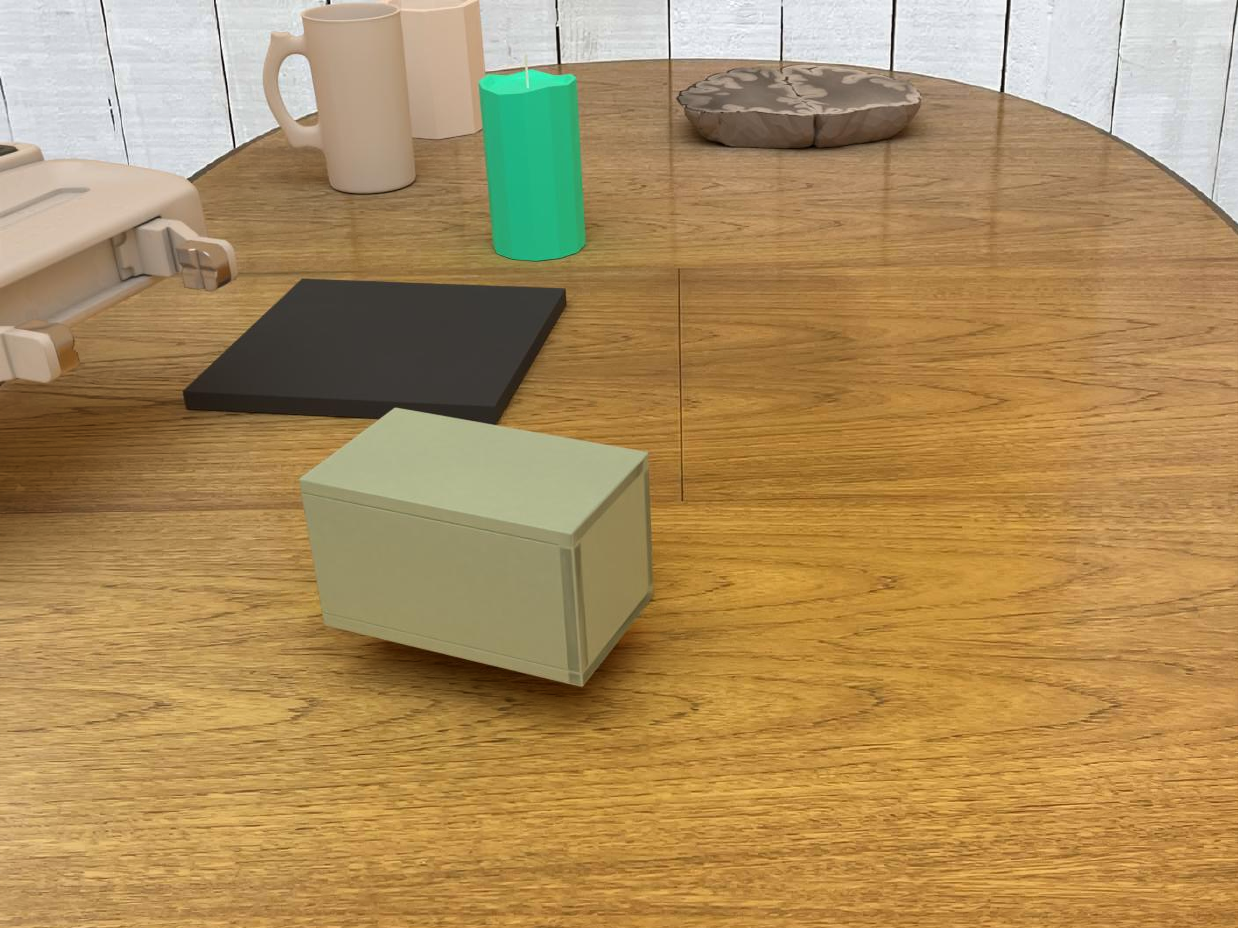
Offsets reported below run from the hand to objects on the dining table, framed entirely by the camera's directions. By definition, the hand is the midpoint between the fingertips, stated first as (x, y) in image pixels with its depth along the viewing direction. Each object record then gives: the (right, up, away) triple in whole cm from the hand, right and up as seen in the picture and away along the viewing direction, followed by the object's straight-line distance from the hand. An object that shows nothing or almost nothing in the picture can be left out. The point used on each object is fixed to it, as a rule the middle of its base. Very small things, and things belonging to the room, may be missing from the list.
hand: (150, 307), depth 55 cm
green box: (+13, -9, -2) cm, 16 cm away
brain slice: (+29, +24, +62) cm, 72 cm away
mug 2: (-2, +24, +63) cm, 67 cm away
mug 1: (-4, +16, +49) cm, 52 cm away
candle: (+11, +10, +37) cm, 40 cm away
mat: (+5, +1, +22) cm, 22 cm away
